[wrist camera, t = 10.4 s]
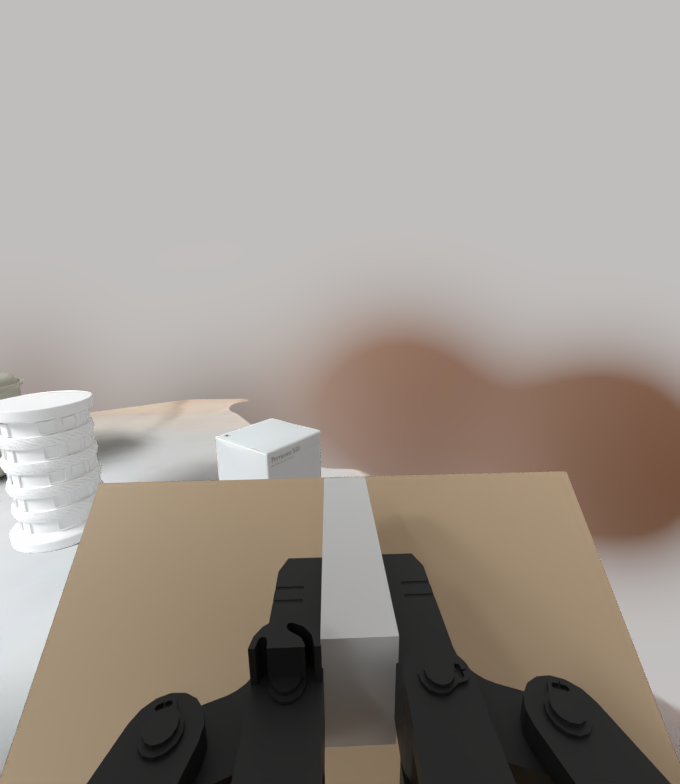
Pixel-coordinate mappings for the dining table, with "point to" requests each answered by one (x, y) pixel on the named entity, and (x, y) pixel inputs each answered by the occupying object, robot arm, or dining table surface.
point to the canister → (9, 393)
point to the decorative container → (49, 467)
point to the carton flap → (256, 592)
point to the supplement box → (269, 452)
